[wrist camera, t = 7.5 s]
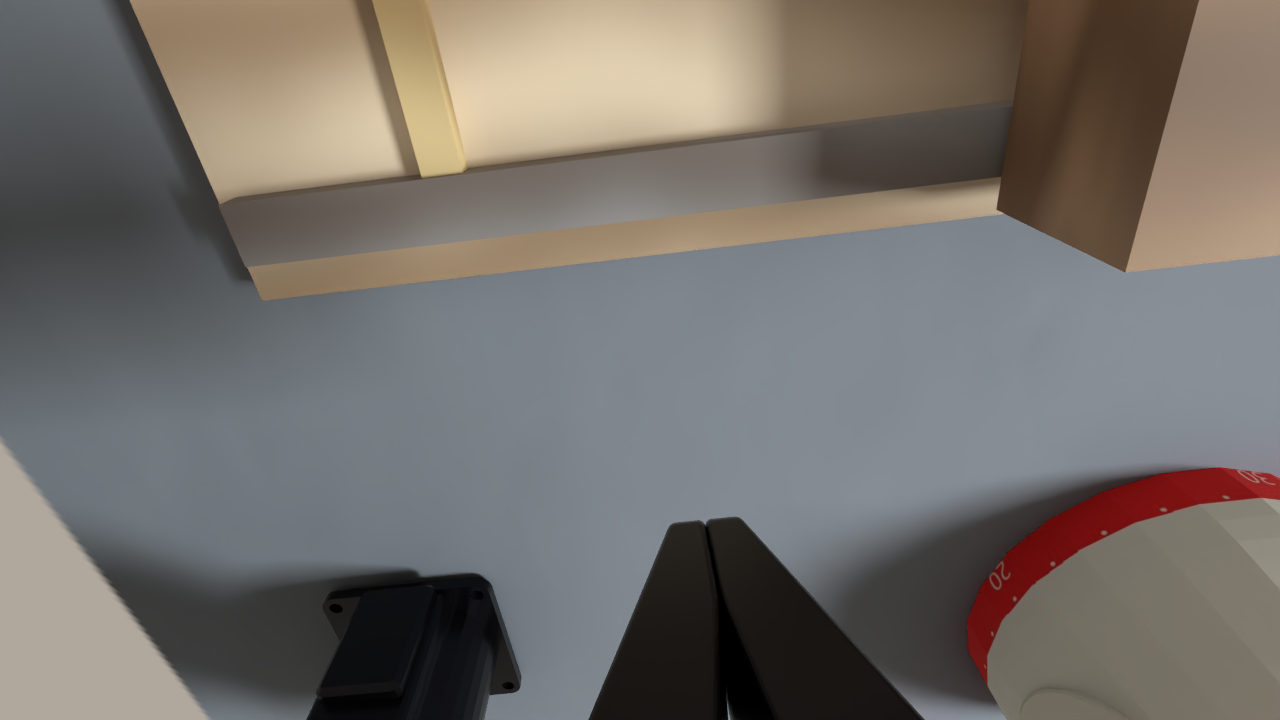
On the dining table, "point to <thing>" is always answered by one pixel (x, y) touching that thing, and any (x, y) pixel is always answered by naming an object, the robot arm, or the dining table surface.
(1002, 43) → the gauge board
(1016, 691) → the white dome
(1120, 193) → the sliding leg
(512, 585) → the dining table surface
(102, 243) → the dining table surface
